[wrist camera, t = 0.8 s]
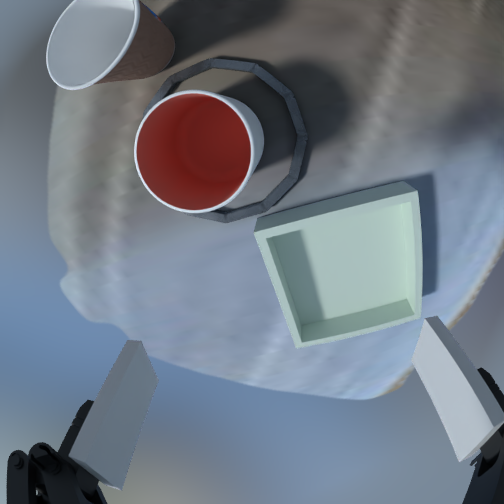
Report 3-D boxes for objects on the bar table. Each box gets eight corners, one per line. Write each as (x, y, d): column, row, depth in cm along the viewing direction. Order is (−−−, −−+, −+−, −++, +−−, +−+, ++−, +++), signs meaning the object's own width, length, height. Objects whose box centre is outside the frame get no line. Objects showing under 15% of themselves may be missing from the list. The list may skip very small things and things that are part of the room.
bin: (403, 180, 28) (417, 190, 24) (411, 300, 35) (420, 317, 32) (257, 218, 32) (253, 232, 29) (296, 328, 40) (296, 348, 36)
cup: (236, 80, 25) (213, 65, 16) (281, 158, 29) (279, 178, 20) (162, 127, 28) (114, 136, 19) (205, 197, 32) (174, 232, 23)
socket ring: (271, 39, 22) (270, 37, 21) (324, 193, 30) (325, 195, 29) (125, 103, 27) (120, 103, 26) (179, 234, 34) (177, 238, 34)
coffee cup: (199, 14, 21) (154, -27, 11) (179, 94, 26) (121, 88, 16) (123, 18, 21) (62, -4, 11) (106, 90, 26) (37, 93, 16)
